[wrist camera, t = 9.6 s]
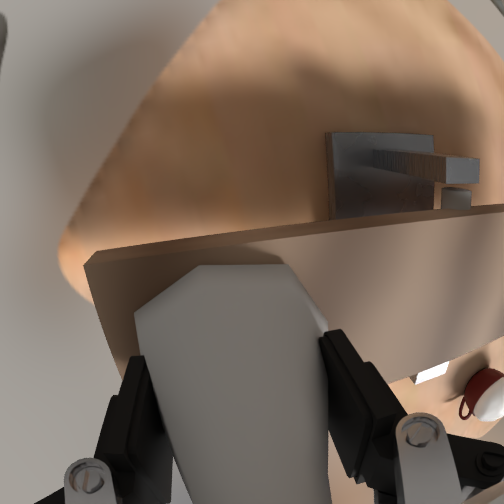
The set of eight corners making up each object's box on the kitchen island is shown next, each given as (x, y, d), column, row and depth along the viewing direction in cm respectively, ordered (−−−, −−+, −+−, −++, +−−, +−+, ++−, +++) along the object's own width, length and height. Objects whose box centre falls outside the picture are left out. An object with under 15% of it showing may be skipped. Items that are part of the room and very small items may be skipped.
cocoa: (449, 408, 32) (489, 472, 21) (453, 381, 29) (503, 451, 18) (500, 374, 31) (544, 427, 20) (507, 344, 29) (560, 400, 18)
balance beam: (565, 186, 15) (610, 201, 10) (547, 293, 18) (584, 317, 14) (100, 224, 12) (45, 270, 7) (153, 401, 15) (144, 477, 10)
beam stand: (423, 134, 20) (509, 141, 12) (412, 315, 25) (470, 372, 17) (324, 133, 19) (395, 129, 11) (328, 335, 24) (371, 410, 16)
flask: (182, 427, 13) (192, 634, 3) (102, 293, 10) (-18, 584, 1) (336, 381, 13) (439, 576, 3) (305, 228, 10) (568, 492, 1)
